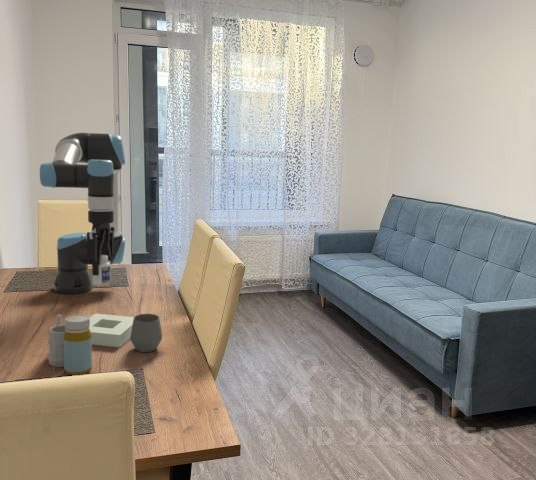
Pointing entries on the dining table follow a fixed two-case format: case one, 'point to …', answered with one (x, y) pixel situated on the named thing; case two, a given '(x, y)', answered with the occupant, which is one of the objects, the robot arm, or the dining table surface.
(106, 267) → the pill bottle
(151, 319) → the cup
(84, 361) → the bottle
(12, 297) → the dining table surface
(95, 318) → the socket block
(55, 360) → the mug
